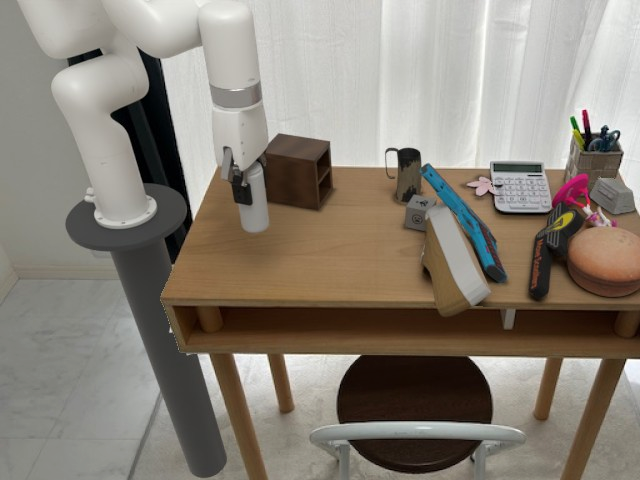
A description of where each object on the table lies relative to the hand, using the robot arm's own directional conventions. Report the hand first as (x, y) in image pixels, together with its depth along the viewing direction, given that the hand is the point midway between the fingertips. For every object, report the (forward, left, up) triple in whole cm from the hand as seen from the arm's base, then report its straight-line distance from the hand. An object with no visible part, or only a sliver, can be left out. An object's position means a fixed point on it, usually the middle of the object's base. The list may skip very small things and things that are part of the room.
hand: (251, 193), depth 105 cm
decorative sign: (+49, +21, -17) cm, 55 cm away
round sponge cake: (+62, +20, -8) cm, 66 cm away
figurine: (+53, +40, -13) cm, 67 cm away
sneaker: (+36, +12, -11) cm, 40 cm away
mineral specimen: (+64, +42, -14) cm, 78 cm away
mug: (+18, +34, -18) cm, 42 cm away
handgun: (+37, +8, -9) cm, 39 cm away
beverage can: (0, 0, -7) cm, 7 cm away
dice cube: (+24, +25, -18) cm, 39 cm away
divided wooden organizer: (-4, +28, -18) cm, 33 cm away
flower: (+35, +43, -16) cm, 58 cm away
